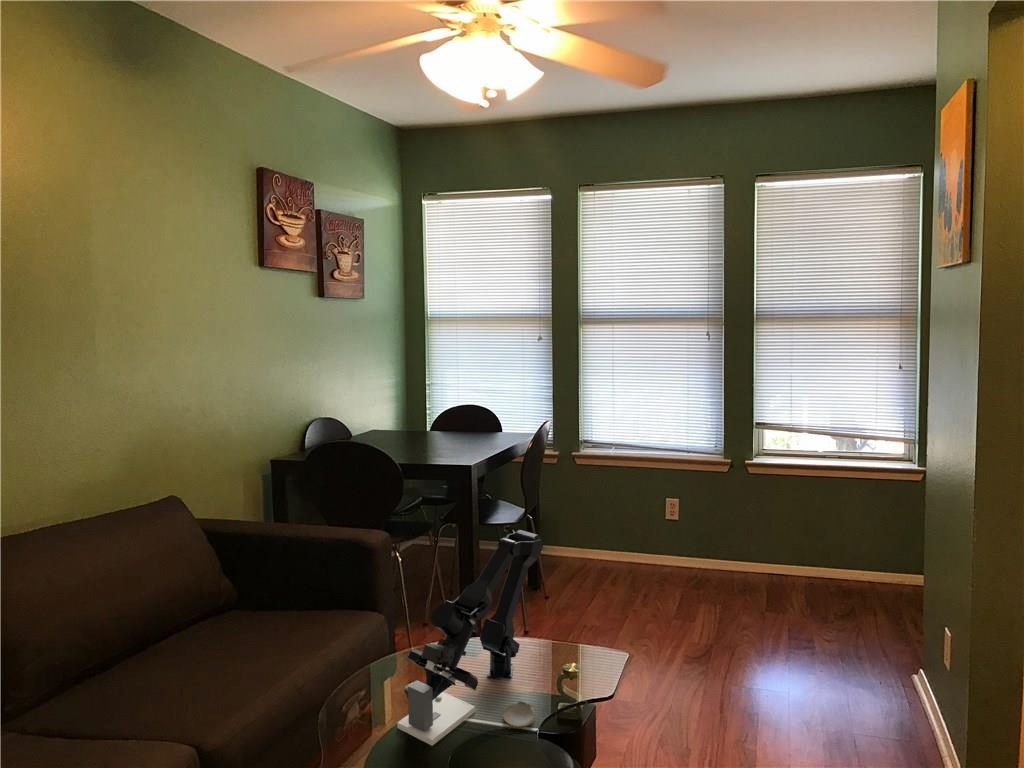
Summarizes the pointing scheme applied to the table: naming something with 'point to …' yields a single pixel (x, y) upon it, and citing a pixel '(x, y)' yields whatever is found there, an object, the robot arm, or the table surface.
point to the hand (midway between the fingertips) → (426, 703)
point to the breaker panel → (440, 718)
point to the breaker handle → (420, 705)
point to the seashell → (519, 714)
